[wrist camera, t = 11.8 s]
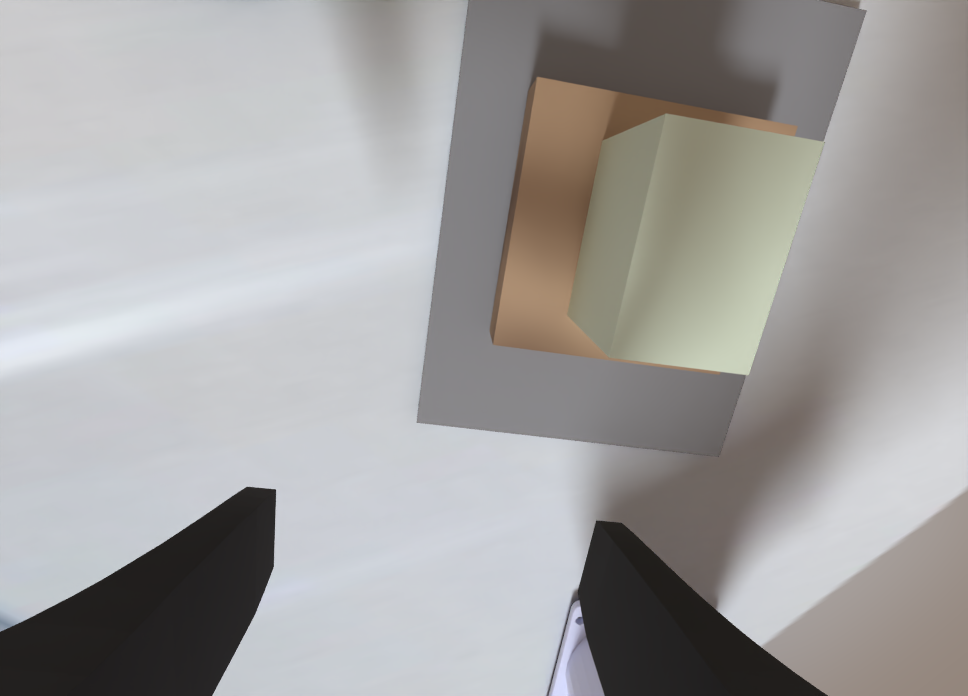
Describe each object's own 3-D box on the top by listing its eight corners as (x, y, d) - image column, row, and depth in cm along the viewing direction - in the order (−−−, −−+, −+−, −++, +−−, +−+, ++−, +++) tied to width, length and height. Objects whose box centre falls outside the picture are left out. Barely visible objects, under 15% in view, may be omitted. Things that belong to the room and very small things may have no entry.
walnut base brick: (695, 358, 20) (719, 374, 18) (489, 331, 19) (492, 345, 18) (761, 134, 18) (798, 126, 16) (528, 90, 17) (537, 76, 15)
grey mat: (713, 451, 22) (718, 456, 22) (417, 417, 21) (416, 422, 20) (855, 16, 17) (866, 10, 17) (477, -67, 16) (477, -75, 15)
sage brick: (670, 329, 18) (748, 375, 13) (567, 315, 17) (608, 357, 13) (715, 160, 16) (824, 141, 11) (602, 140, 16) (666, 113, 11)
